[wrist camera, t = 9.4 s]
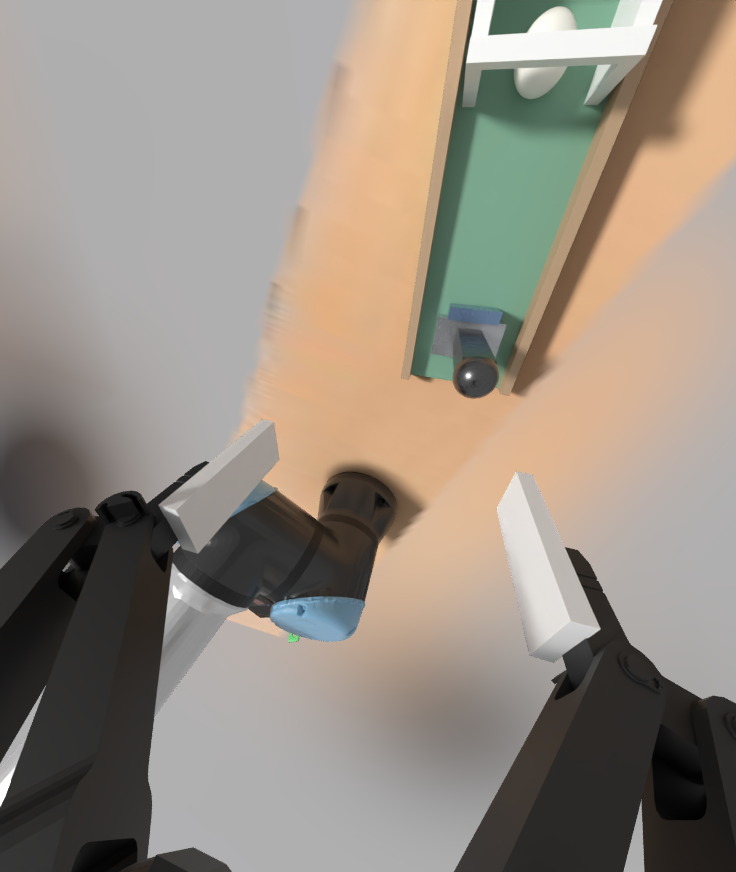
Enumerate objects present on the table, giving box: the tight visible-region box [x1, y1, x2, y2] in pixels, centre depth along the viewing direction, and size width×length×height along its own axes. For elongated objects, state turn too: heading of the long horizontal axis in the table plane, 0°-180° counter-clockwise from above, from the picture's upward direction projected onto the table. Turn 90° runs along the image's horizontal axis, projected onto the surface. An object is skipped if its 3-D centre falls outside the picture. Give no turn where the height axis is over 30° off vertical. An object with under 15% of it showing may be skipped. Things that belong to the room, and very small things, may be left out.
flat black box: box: [248, 594, 274, 618], centre depth 91 cm, size 16×17×4 cm
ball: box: [514, 6, 577, 99], centre depth 18 cm, size 4×4×4 cm
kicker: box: [431, 303, 507, 399], centre depth 24 cm, size 5×7×15 cm
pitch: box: [401, 0, 674, 396], centre depth 24 cm, size 30×13×3 cm, turn 176°
